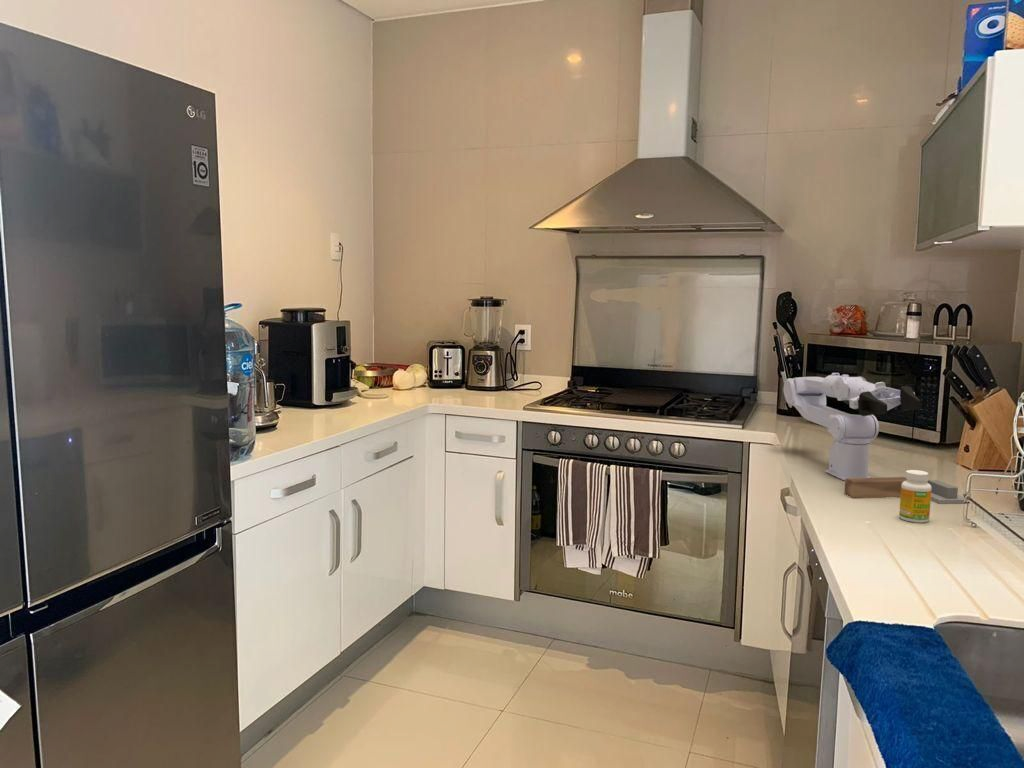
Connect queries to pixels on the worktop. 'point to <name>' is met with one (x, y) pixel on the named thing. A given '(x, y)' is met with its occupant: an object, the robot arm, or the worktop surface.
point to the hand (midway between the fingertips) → (902, 407)
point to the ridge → (944, 493)
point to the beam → (874, 487)
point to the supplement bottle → (915, 497)
